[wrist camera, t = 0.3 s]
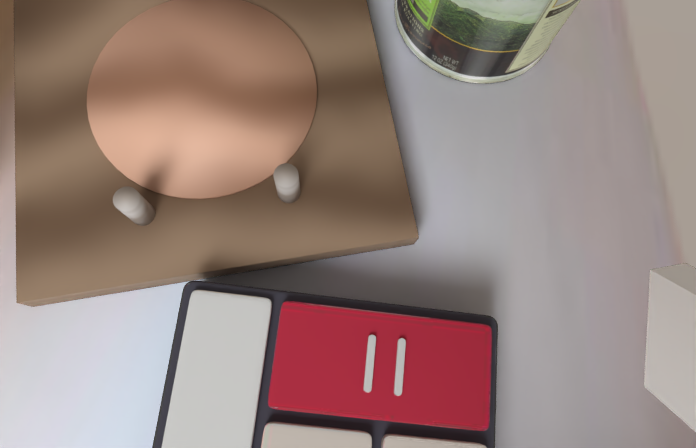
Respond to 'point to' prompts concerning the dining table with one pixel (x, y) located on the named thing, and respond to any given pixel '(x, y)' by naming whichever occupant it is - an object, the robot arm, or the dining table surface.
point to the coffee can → (481, 34)
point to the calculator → (325, 373)
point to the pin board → (197, 142)
